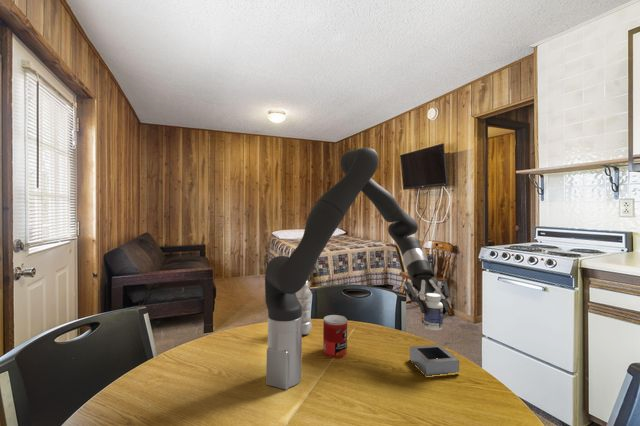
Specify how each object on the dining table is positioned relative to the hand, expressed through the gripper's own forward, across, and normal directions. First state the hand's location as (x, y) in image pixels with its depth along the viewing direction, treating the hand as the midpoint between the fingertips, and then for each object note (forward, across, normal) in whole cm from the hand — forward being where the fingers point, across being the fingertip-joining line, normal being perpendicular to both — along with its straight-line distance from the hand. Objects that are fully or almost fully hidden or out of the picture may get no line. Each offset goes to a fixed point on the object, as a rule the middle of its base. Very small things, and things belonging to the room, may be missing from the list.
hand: (436, 313), depth 86 cm
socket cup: (+11, 0, +13) cm, 17 cm away
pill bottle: (+2, 0, +5) cm, 5 cm away
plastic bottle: (-10, -36, +34) cm, 51 cm away
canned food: (+1, -27, +22) cm, 35 cm away
